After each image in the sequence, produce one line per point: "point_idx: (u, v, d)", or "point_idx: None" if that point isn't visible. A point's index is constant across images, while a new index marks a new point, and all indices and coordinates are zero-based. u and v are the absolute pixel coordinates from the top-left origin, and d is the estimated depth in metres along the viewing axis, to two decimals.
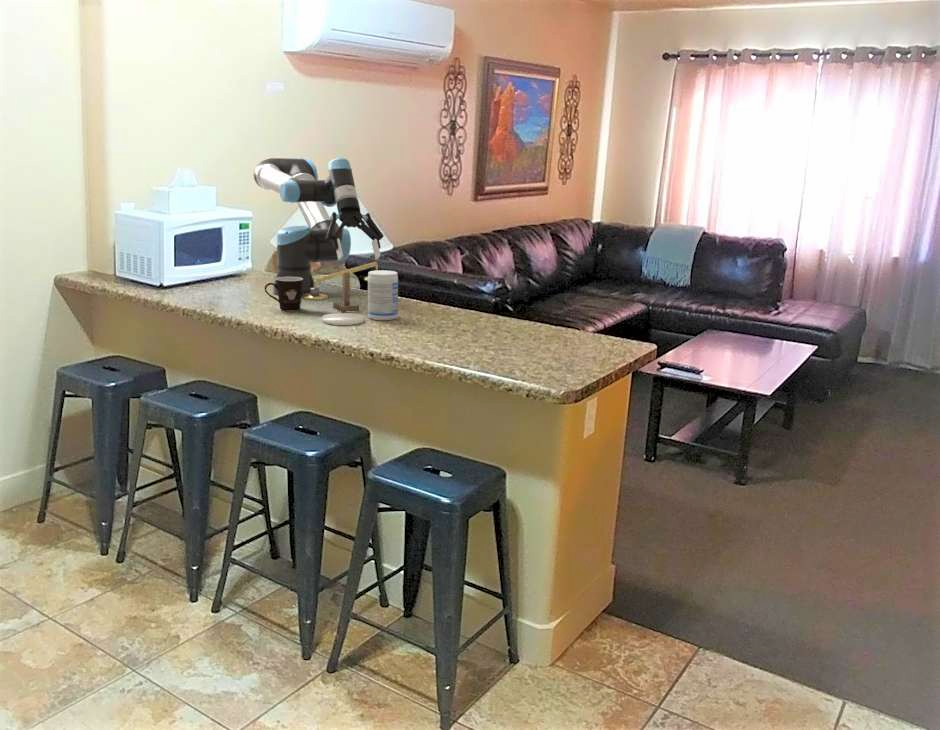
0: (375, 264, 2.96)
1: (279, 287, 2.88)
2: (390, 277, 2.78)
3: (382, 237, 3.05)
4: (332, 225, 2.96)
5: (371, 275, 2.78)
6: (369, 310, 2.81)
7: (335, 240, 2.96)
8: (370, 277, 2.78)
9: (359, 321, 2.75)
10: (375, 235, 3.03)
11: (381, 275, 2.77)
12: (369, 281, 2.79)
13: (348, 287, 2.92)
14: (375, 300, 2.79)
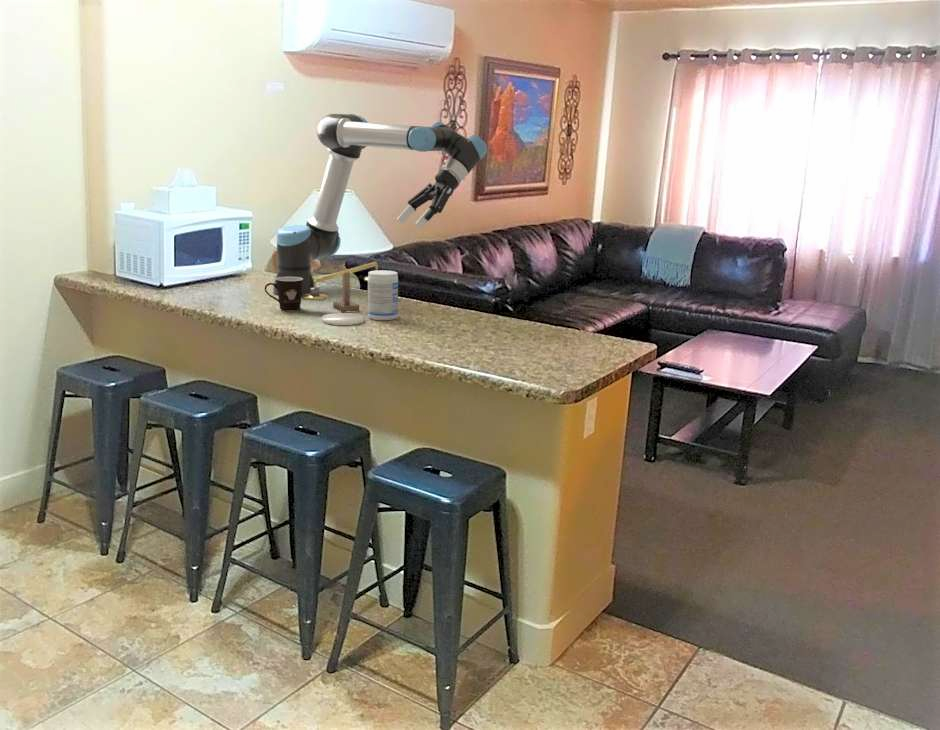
0: (375, 264, 2.96)
1: (279, 287, 2.88)
2: (390, 277, 2.78)
3: None
4: None
5: (371, 275, 2.78)
6: (369, 310, 2.81)
7: None
8: (371, 277, 2.78)
9: (359, 321, 2.75)
10: None
11: (381, 275, 2.77)
12: (369, 281, 2.79)
13: (348, 287, 2.92)
14: (375, 300, 2.79)
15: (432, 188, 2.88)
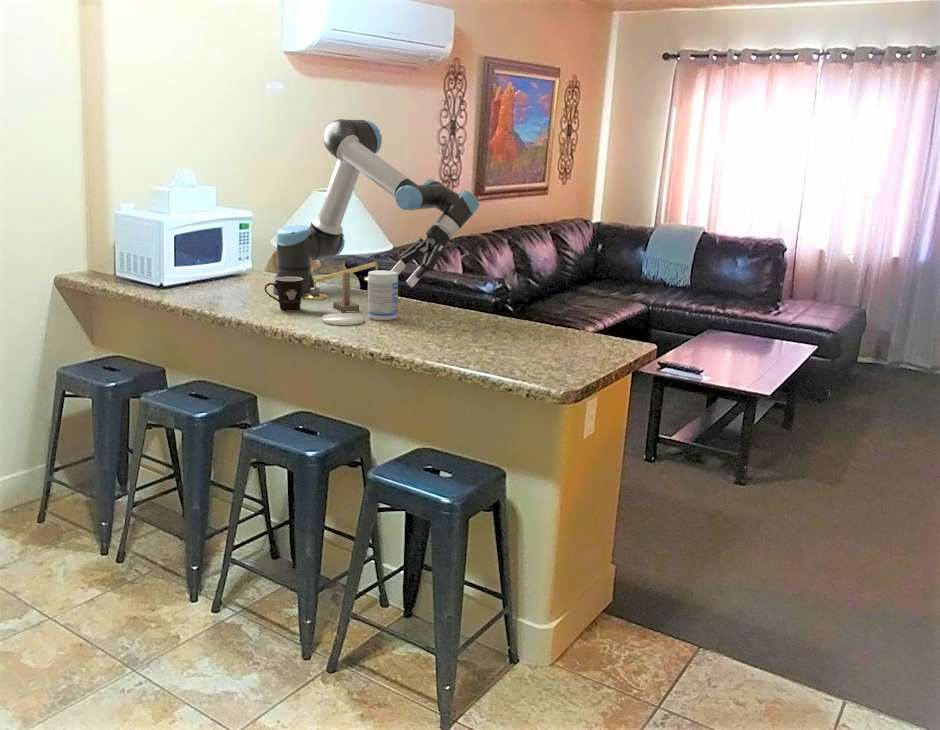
0: (375, 264, 2.96)
1: (279, 287, 2.88)
2: (390, 277, 2.78)
3: None
4: None
5: (371, 275, 2.78)
6: (369, 310, 2.81)
7: None
8: (370, 277, 2.78)
9: (359, 321, 2.75)
10: None
11: (381, 275, 2.77)
12: (369, 281, 2.79)
13: (348, 287, 2.92)
14: (375, 300, 2.79)
15: (423, 244, 2.86)
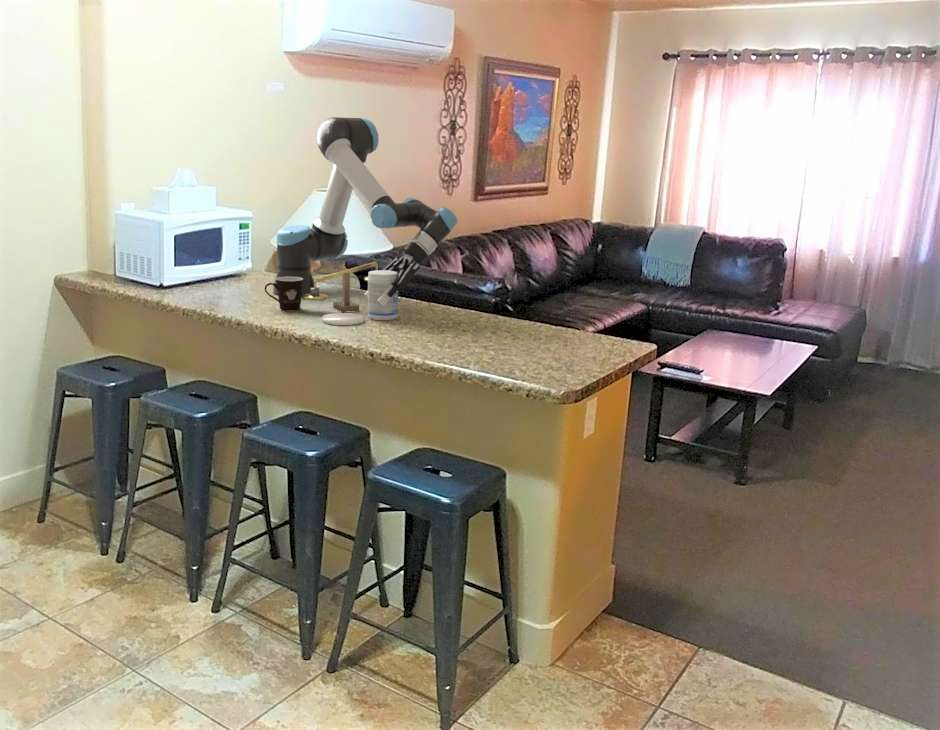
0: (375, 264, 2.96)
1: (279, 287, 2.88)
2: (390, 277, 2.78)
3: None
4: None
5: (371, 275, 2.78)
6: (369, 310, 2.81)
7: None
8: (371, 277, 2.78)
9: (359, 321, 2.75)
10: None
11: (381, 275, 2.77)
12: (369, 281, 2.79)
13: (348, 287, 2.92)
14: (375, 300, 2.79)
15: (401, 260, 2.84)
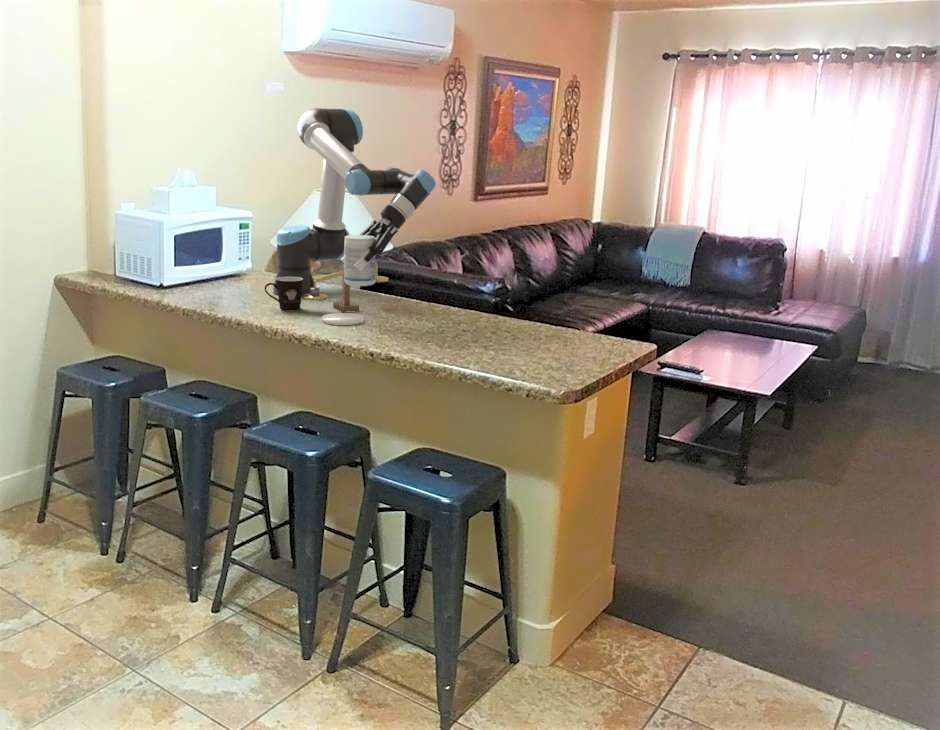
0: (375, 264, 2.96)
1: (279, 287, 2.88)
2: (368, 242, 2.70)
3: None
4: None
5: (347, 239, 2.70)
6: (346, 276, 2.74)
7: None
8: (347, 241, 2.70)
9: (359, 321, 2.75)
10: None
11: (358, 239, 2.69)
12: (345, 245, 2.71)
13: (348, 287, 2.92)
14: (352, 265, 2.71)
15: (378, 225, 2.76)
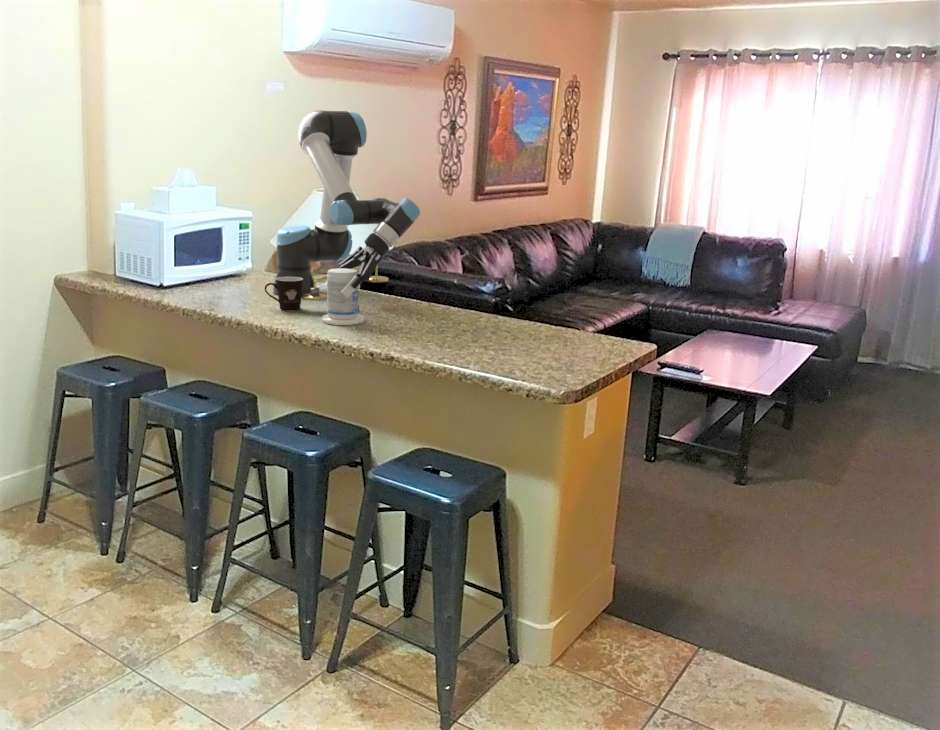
0: None
1: (279, 287, 2.88)
2: (350, 276, 2.71)
3: None
4: None
5: (330, 273, 2.71)
6: (328, 309, 2.75)
7: None
8: (329, 275, 2.72)
9: (359, 321, 2.75)
10: None
11: (340, 273, 2.70)
12: (328, 279, 2.73)
13: None
14: (334, 298, 2.72)
15: (361, 253, 2.77)
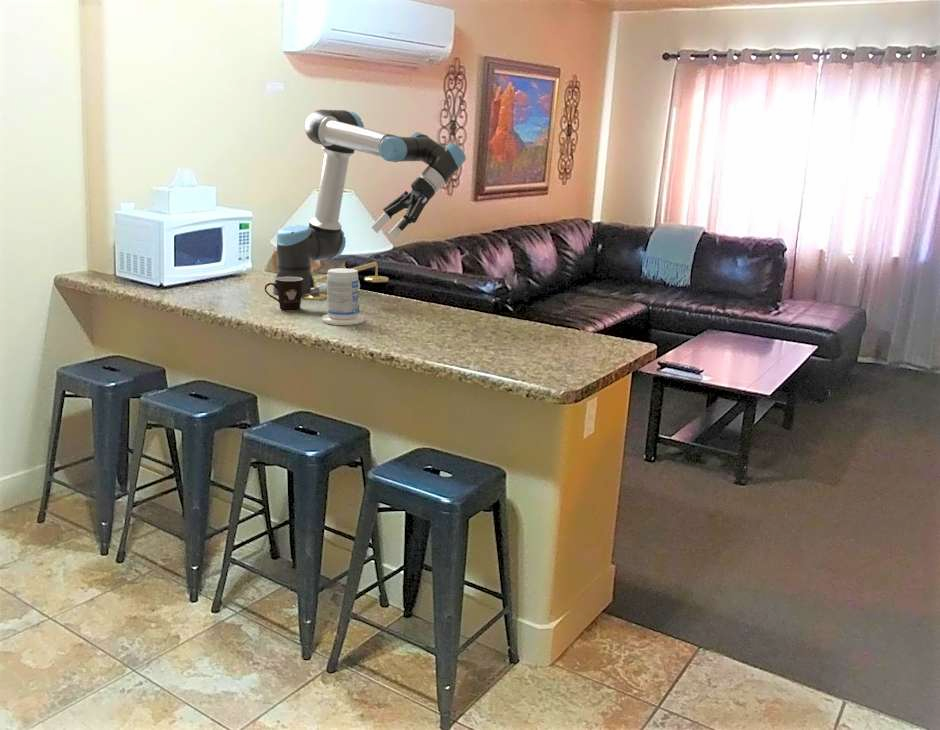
0: (375, 264, 2.96)
1: (279, 287, 2.88)
2: (350, 276, 2.71)
3: None
4: None
5: (330, 273, 2.71)
6: (328, 309, 2.75)
7: None
8: (329, 275, 2.72)
9: (359, 321, 2.75)
10: None
11: (340, 273, 2.70)
12: (328, 279, 2.73)
13: None
14: (334, 298, 2.72)
15: (408, 196, 2.82)
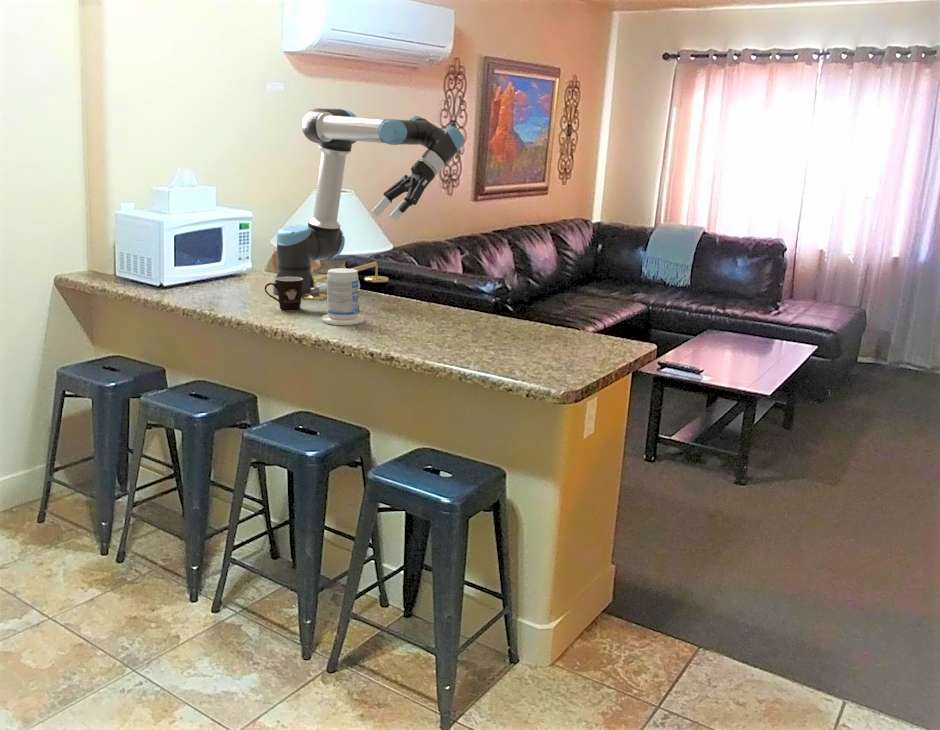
0: (375, 264, 2.96)
1: (279, 287, 2.88)
2: (350, 276, 2.71)
3: None
4: None
5: (330, 273, 2.71)
6: (328, 309, 2.75)
7: None
8: (329, 275, 2.72)
9: (359, 321, 2.75)
10: None
11: (340, 273, 2.70)
12: (328, 279, 2.73)
13: None
14: (334, 298, 2.72)
15: (408, 180, 2.83)
